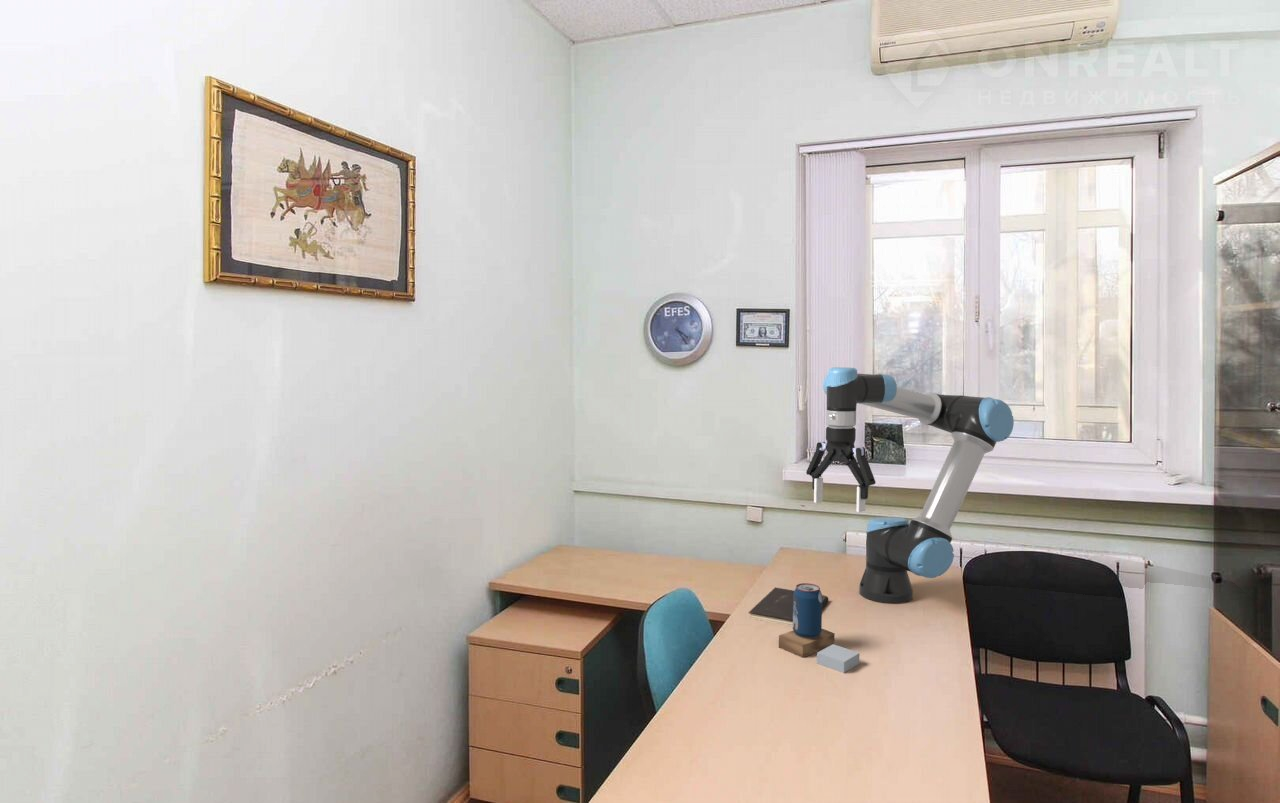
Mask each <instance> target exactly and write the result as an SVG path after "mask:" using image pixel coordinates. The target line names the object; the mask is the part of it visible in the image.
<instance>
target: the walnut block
mask: <svg viewBox="0 0 1280 803" xmlns="http://www.w3.org/2000/svg"><path fill="white" fill-rule="evenodd" d="M832 644H834V645H835V632H832V631H829V630H826V629H824V628H823V627H822V628H821V633H820V634H819V636H818V637H817V638H814V639H805V638H801V637H798V636H797V635H796V634H795V632H794V630H793V629H792V630H790V631H788V632H785V633H783V634H779V635H778V648H780V649H782V650H784V651H787V652H788V653H790V654H793V655H796V656H798V657H800V658H805V657H808V656H810V655H813V654H814V653H818V652H819V651H821V650H823V649H825V648H827V647H829V646H831V645H832Z"/></svg>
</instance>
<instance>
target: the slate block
mask: <svg viewBox="0 0 1280 803" xmlns="http://www.w3.org/2000/svg"><path fill="white" fill-rule="evenodd" d="M860 656H861V655H860V652H857V651H855V650H852V649H849V648H845V647H842V646H840V645H837V644H835V643H834V644H832V645H831V646H829V647H827V648H825V649H823V650H820V651H818V652H816V664H817V665H820V666H822V667H825V668H828V669H830V670H832V671H837V672H839V673H841V674H845V673H847V672H849V671H850V670H851V669H853V668H855V667H857V666H858V665H860Z"/></svg>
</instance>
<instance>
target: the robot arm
mask: <svg viewBox="0 0 1280 803" xmlns="http://www.w3.org/2000/svg"><path fill="white" fill-rule="evenodd" d="M822 388H823V389H822V390H823V391H824V393H825V395H826V415H825V416H826V419H825V420H826V425H827V427H826V428H825V441H826V442H825V441H818V442H817V443H816V445H815V446H816V448H815V451H814V454H813V456H812V458H811V460H810V462H809V465H808V466H807V469H806V473H805V474H806V475H807V476H808V475H809V477H810V476H811V480H812V484H811V486H812V488H811V489H812V490H813V503H815V504H819V503H822V502H823V500H824V499H823V497H824V493H823V492H824V477H823V474H824V473H825V472H826V470H827V469H828V467H830V465H831V464H832V463H833V462H835V463H836V462H839V463H841V464H842V463H844V464H845V465H846V466H847V467H848V468H849V470H850V472H851V473H852V475H853V477H854V478H855V481H856V482H857V483H858V486H857V487H856V509H855V512H856V513H862V512H865V511H866V500H868V498H869V487H870V486H873V485H876V483H877V482H876V479H875V477H874V474H873V471H872V469H871V466H870V463H869V461H868V458H867V454H866V447H864V446H862V447H855V442H856V436H857V435H856V433H857V432H856V431H857V429H856V428H855V426H856V425H857V406H858V405H857V404H860V405H863V406H867V407H871V408H875V409H880V410H882V411H886V412H892V413H894V414H897V415H902V416H906V417H910V418H914V419H917V420H919V422H920V423H921V424H923V425H927V426H930V427H933V428H936V429H939V430H941V431H944V432H947V433H950V434H951V437H952V439H953V443H952V446H951V448H950V449H949V452H948V454H947V456H946V458H945V460H944V463H943V464H942V467H941V469H940V471H939V473H938V475H937V478H936V480H935V482H934V484H933V487H932V488H931V490H930V493H929V494H928V496H927V499H926V501H925V503H924V505H923V508H922V510H921V512H920V514H919V516H917V517H915V518H914V517H913V518H912V519H911V520H910V522H909V519H907V518H904V517H893V516H892V517H887V516H886V517H885V516H884V517H876V518H875V517H874V518H871V519H870V520H869V521H868V522H867V526H866V528H867V529H866V532H865V533H866V545H865V546H866V550H865V552H866V553H865V556H866V557H865V570H864V572H863V574H862V576H861V579H860V582H859V586H858V587H859V588H858V592H859V595H860V596H862V597H863V598H865V599H868V600H870V601H874V602H879V603H884V604H902V603H903V604H905V603H907V602H910V601H912V600H913V594H914V590H913V586H912V584H911V580H910V577H909V573H908V572H910V573H912V574H914V575H915V576H918V577H924V578H925V579H926V578H927V579H935V578H937V577H940V576H942V575H944V574H945V573H946V572H947V571H948V570H949V569H950V568H951V566H952V565H953V561H954V557H955V554H954V550H955V549H954V548H953V545H952V544H951V542H952V540H953V538H954V537H953V535H952V533H951V528H952V526H953V524H954V521H955V520H956V517H957V515H958V512H959V510H960V509H961V507H962V505H963V502H964V500H965V497H966V495H967V494H968V491H969V489H970V487H971V486H972V485H971V484H972V482H973V480H974V478H975V476H976V473H977V471H978V469H979V467H980V465H981V462H982V461H983V458H984V456H985V454H987V453H990V452H992V451H993V450H994V449H995V447H996V444H997V443H999V442H1003V441H1005V440H1007V439H1008V438H1009V437H1010V436H1011V435H1012V432H1013V429H1014V425H1015V424H1014V421H1015V420H1014V416H1013V411H1012V409H1011V407H1010V406H1009V404H1007V403H1006V402H1005V401H1003V400H1001V399H998V398H997V399H996V398H993V397H982V396H981V397H980V396H968V395H961V394H960V395H958V394H955V395H953V394H952V395H951V394H941V393H935V392H927V393H922V392H919V391H914V390H911V389H909V388H908V389H907V388H903V387H900V386H898V384H897V382H896V380H895V378H894V377H893V376H892V375H890V374H883V373H877V374H874V373H873V374H871V373H858V370H857V368H855V367H839V366H838V367H831V368H829V369H828V371H827V375H826V376H825V378H824V380H823V383H822ZM825 452H826V455H825ZM824 455H825V456H824ZM823 456H824V457H823ZM822 458H823V460H822Z"/></svg>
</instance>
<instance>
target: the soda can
mask: <svg viewBox="0 0 1280 803" xmlns="http://www.w3.org/2000/svg"><path fill="white" fill-rule="evenodd" d="M822 595H823V593H822V591H821V587H820V586H819V585H817V584H815V583H810V582H807V583H806V582H803V583H798V584H796V585H795V589H794V593H793V626H792V631H793V630H794V632H795V634H796V635H797V636H798V637H801V638H805V639H814V638H817V637H818V636H819V634H820V633H821V628H822V629H823V627H822V623H823V621H822V619H823V617H822V616H823V615H822V614H823V609H822Z"/></svg>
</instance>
